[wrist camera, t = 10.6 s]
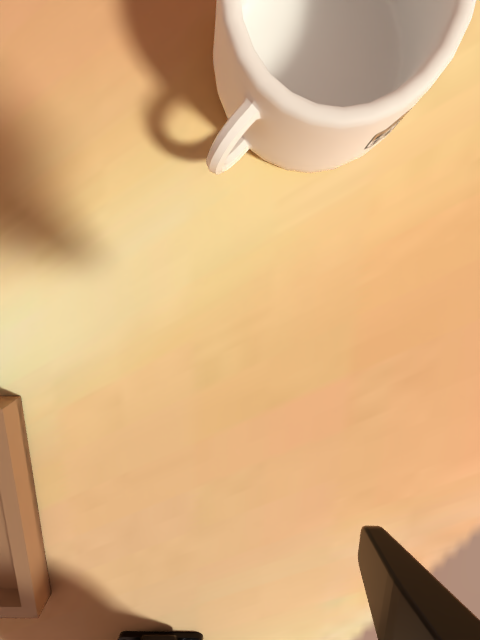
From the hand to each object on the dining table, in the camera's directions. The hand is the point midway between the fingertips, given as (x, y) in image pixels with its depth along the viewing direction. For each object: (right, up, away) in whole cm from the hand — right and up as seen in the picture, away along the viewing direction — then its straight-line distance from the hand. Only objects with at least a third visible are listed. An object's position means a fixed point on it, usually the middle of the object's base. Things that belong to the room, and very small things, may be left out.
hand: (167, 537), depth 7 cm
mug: (+4, +17, +9) cm, 20 cm away
